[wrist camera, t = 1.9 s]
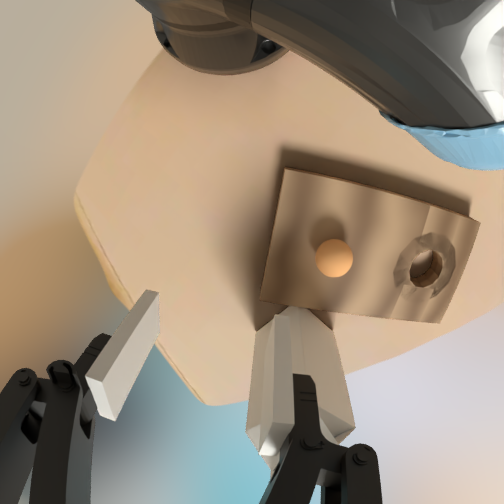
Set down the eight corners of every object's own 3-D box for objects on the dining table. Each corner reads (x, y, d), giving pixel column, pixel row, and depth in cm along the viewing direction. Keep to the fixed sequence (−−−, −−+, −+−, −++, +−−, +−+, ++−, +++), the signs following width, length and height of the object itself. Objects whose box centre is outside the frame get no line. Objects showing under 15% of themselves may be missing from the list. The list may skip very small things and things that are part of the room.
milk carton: (255, 331, 35) (240, 468, 18) (297, 298, 33) (311, 442, 16) (292, 360, 37) (297, 487, 19) (333, 331, 35) (362, 463, 17)
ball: (317, 230, 27) (323, 244, 24) (352, 237, 27) (362, 251, 24) (309, 264, 29) (313, 281, 25) (342, 269, 29) (350, 286, 25)
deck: (260, 289, 33) (259, 300, 31) (284, 166, 28) (285, 169, 25) (432, 313, 33) (439, 323, 31) (469, 216, 27) (480, 223, 25)
